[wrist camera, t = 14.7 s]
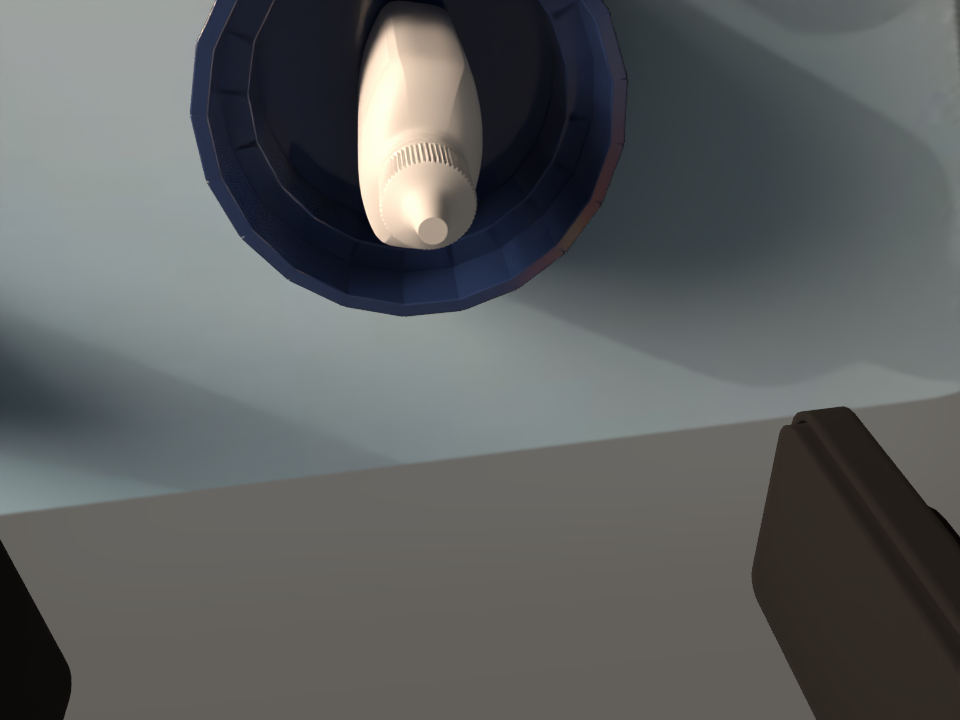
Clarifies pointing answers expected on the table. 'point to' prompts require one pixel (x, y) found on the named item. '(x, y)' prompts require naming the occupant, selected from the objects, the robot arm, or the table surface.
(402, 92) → the eye dropper bottle
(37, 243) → the table surface
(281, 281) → the table surface
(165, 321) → the table surface
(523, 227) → the bowl
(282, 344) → the table surface
